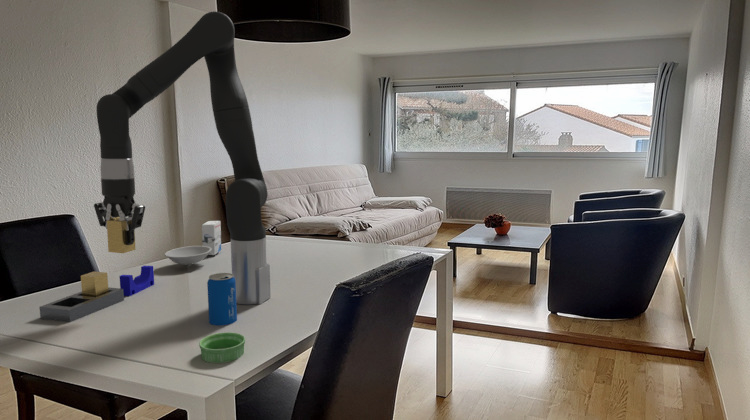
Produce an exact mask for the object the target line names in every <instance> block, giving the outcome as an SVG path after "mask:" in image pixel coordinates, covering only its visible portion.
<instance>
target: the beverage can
mask: <svg viewBox="0 0 750 420" xmlns="http://www.w3.org/2000/svg"><path fill="white" fill-rule="evenodd" d="M206 284H207V285H206V286H207V303H208V320H209V321H208V323H209V324H210V325H212V326H218V327H219V326H227V325H231V324H234V323H236V322H237V321H238V312H237V311H238V310H237V309H238V307H237V303H236V281H235V278H234V277H233V274H232V273H230V272H218V273H214V274H213V273H212V274H211V275H209V276H208V280H207V282H206Z"/></svg>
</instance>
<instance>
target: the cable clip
mask: <svg viewBox="0 0 750 420" xmlns="http://www.w3.org/2000/svg"><path fill="white" fill-rule="evenodd" d="M153 286H155V273H154V266H153V265H142V266H141V269H140V274H139V275H137V276H135V277H133V275H132V274H121V275H119V287H120V289H123V292H124V297H132V296H133V295H136V294H138V293H140V292H142V291H144V290H146V289H148V288H150V287H153Z"/></svg>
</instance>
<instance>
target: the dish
mask: <svg viewBox="0 0 750 420" xmlns="http://www.w3.org/2000/svg"><path fill="white" fill-rule="evenodd" d="M211 250H212V248H211V247H207V246H202V245H187V246H180V247H177V248H173V249H170V250H168V251H165V253H164V256H165V257H167V258H168V259H169V260H170V261H171V262H173V263H175V264H178V265H186V266H188V267H189V266H193V265H194V264H196V263H199V262H201V261H203V260H204V259H205V258H206V257H208V256H209V255H208V254H209V252H210V251H211Z"/></svg>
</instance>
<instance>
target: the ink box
mask: <svg viewBox="0 0 750 420" xmlns="http://www.w3.org/2000/svg"><path fill="white" fill-rule="evenodd" d="M221 224H222V223H221V220H208V221H206V222H205V223H203V224H201V237H202V238H201V239H202V240H201V242H202V243H201V244H202V245H201V246H207V247H211V248H212V250H211V251H210V252H209V254H208V255H207V256H215V255H217V254H218V253H219V252H221V250H222V230H221V226H222V225H221Z"/></svg>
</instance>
